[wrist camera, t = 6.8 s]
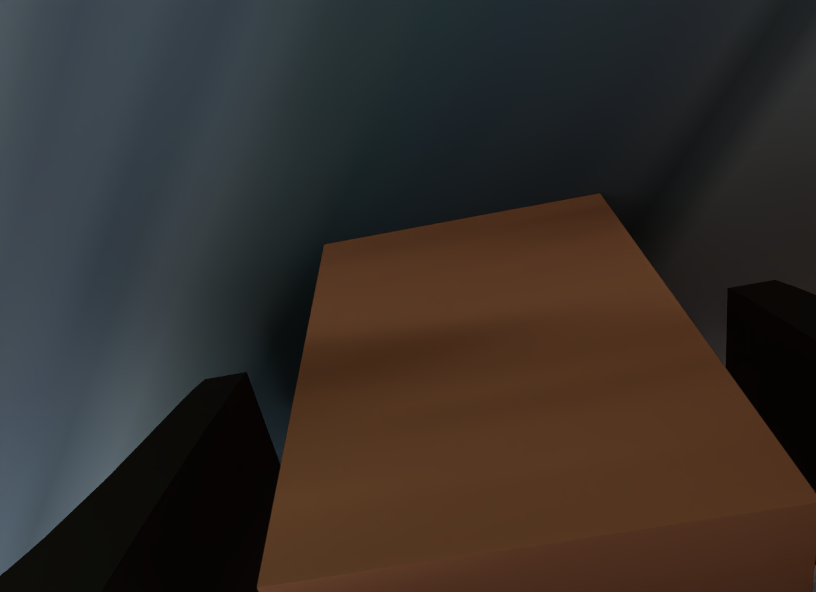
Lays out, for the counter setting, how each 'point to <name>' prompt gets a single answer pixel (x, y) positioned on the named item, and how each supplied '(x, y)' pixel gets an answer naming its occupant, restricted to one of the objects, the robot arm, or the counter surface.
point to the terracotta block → (524, 425)
